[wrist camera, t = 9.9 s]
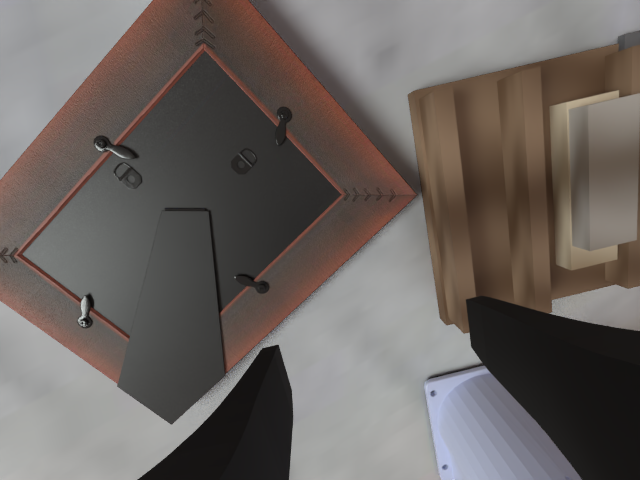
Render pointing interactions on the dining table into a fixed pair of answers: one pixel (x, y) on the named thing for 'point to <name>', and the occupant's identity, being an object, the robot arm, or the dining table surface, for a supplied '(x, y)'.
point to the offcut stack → (594, 177)
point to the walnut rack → (509, 181)
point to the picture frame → (187, 201)
